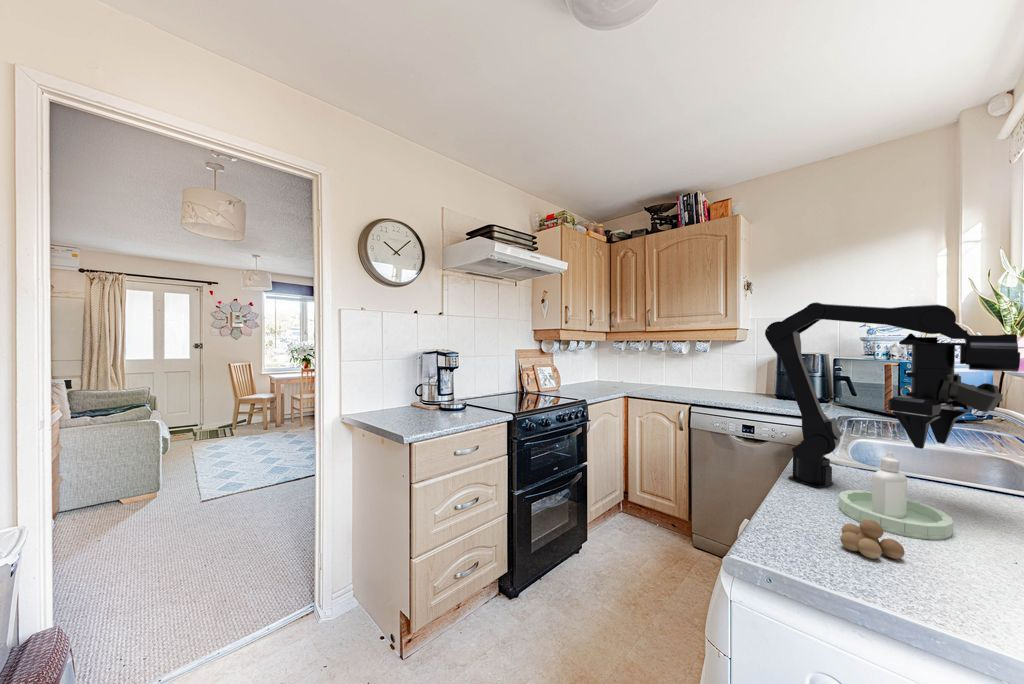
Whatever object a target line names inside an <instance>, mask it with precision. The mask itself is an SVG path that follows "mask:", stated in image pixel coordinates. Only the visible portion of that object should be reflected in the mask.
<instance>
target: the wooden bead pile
mask: <svg viewBox="0 0 1024 684" xmlns="http://www.w3.org/2000/svg"><path fill="white" fill-rule="evenodd" d="M841 533H842V534H841V535H840V538H839V539H840V542H841V544H842V546H843V547H844V548H846V549H847V550H849V551H853V552H860V554H861V555H863V556H864V557H866V558H868V559H872V560H873V559H875V560H876V559H878V558H880V557H881V556H882V554H883V555H884V556H886V557H888V558H890V559H893V560H899V559H902V558H903V557H904V556H905V548H904V546H903V545H902V544H901V543H900V542H898V541H897V540H895V539H892V538H884V539H883V538H882V537H884V531H883V529H882V527H881V526H880V525H879V524H878V523H877V522H875V521H873V520H864V521H862V522H859V526H858V525H857V524H854V523H846V524H845V523H844V525H843V526H842V527H841ZM880 538H882V539H881V540H879V539H880Z"/></svg>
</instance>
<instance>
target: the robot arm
mask: <svg viewBox="0 0 1024 684" xmlns="http://www.w3.org/2000/svg"><path fill="white" fill-rule="evenodd" d="M823 320H826V321H835V322H836V321H837V322H848V323H849V322H850V323H863V324H874V325H885V326H891V327H896V328H901V329H904V330H905V329H906V330H908V331H909V330H910V331H915V332H918V333H923V334H928V335H938V334H940V335H943V336H945V337H947V338H949V339H951V340H964V342H938V336H916V335H915V334H913V333H909V334H907V336H906V337H905V338H904V339H901V340H900V341H899V342H898V344H899V345H902V346H911V371H907V372H906V378H911V379H910V382H911V383H910V391H906V394H905V395H897V396H893V397H891V398H890V399H888V404H887V408H888V411H891V413H892V415H894V417H896V419H897V420H898V422H899V423H900V425H901V426H902V428H903V430H904V431H905V433H906V435H907V436H908V438H909V439H910V441H911V443H912V444H913V447H914V448H917V449H921V450H922V449H924V448H925V445H926V442H927V436H928V433H929V432H928V431H929V427H930V428H931V431H932V434H933V436H934V439H935V441H936V443H938V444H943V445H944V444H946V443H947V441H948V439H949V437H950V434H951V432H952V430H953V428H954V425H955V423H956V421H957V419H958V418H961V417H962V416H965V415H966V414H970V412H971V410H976V411H978V412H979V411H980V412H984V413H987V412H989V411H990V412H994V411H995V409H996V408H997V406H998V404H999V403H1001V402H1003V400H1004V399H1003V397H1004V396H1003V395H1004V394H1002V393H1000V390H999V386H997V385H995V384H992V383H988V382H987V383H986V382H985V383H981V384H979V385H978V386H976V385H974V384H968V383H965V382H962V376H961V375H960V374H959V373H955V363H956V361H955V360H956V358H955V357H956V347H957V346H960V348H959V349H960V350H959V365H966V366H968V370H969V371H970V370H971V371H972V370H973V371H991V372H993V371H994V372H995V371H996V372H1016V373H1018V372H1019V370H1020V365H1021V363H1020V362H1021V352H1020V351H1019V344H1018V334H1016V333H1015V334H1014V333H1013V334H1012V333H1010V334H1009V333H1005V334H1004V333H1003V334H992V335H991V334H987V335H985V334H970V333H968V330H967V329H966V330H965V329H963V328H962V327H961V326H960V325H959V324H958V323H957V316H956V313H955V312H954V311H953V310H952V309H951V308H949V307H948V306H945V305H941V304H927V305H926V304H924V305H923V304H921V305H908V306H898V307H882V306H881V307H880V306H865V305H863V306H862V305H846V304H834V303H833V304H831V303H830V304H829V303H821V302H818V301H815V302H811V303H809V304H808V305H807V306H806V307H804V308H803V309H800V310H799V311H797V312H795V313H793V314H792V315H790V316H788V317H786V318H785V319H783V320H782V321H779V320H778V321H774V322H771V323H770V324H769V325H768V326H767V327H766V329H765V330H764V331H765V332H764V336H765V338H766V340H767V342H768V344H769V346H771V348H772V350H773V351H774V352H775V354H776V355H777V356H778V357H779V359H780V361H781V362H782V365H783V368H784V371H785V374H786V377H787V380H788V382H789V384H790V388H791V391H792V393H793V395H794V399H795V401H796V404H797V407H798V409H799V411H800V416H801V432H802V438H803V439H802V440H801V441H800V442H798V443H797V444H796V445H794V446H793V447H792V449H791V450H792V475H788V479H789V480H792V481H795V482H797V483H799V484H804V485H806V486H810V487H813V488H815V489H820V488H824V487H828V486H829V487H830V486H832V485H834V481H833V467H832V465H831V458H827V457H825V456H827V455H829V454H831V453H832V452H834V450H836V448H837V447H839V444H840V443H841V437H842V436H843V433H842V431H841V430H840V429H839V426H838V421H837V418H836V417H833V418H828V416H827V415H826V413H825V412H824V411H823V409H822V405H821V404H820V401H819V399H818V395H817V393H816V391H815V387H814V385H813V382H812V380H811V378H810V375H809V372H808V369H807V366H806V364H805V361H804V358H803V355H802V341H801V334H802V333H803V332H806V330H808V329H809V328H811V327H812V326H814V325H815V324H816V323H818V322H820V321H823ZM961 408H963V409H961Z"/></svg>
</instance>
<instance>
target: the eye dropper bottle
mask: <svg viewBox="0 0 1024 684" xmlns="http://www.w3.org/2000/svg"><path fill="white" fill-rule="evenodd" d="M871 479H872V481H871V486H872V487H871V491H872V512H875V513H878V514H881V515H884V516H888V517H892V518H896V519H898V518H903V517H905V516H906V514H907V499H908V478H907V476H906V475H905V474H904V473H902V472H900V460H898V459H896V458H895V456H894V453H893V451H887V453H886V456H884V457H881V458H880V469H879V470H876V471H875V472H874V473H873V474H872V478H871Z"/></svg>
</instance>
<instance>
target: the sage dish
mask: <svg viewBox="0 0 1024 684" xmlns="http://www.w3.org/2000/svg"><path fill="white" fill-rule="evenodd" d="M838 505H839V510H840V511H841V512H842V513H843V514H844V515H846V516H847V517H849V518H851V519H852V520H855V521H856V522H859V523H861V522H862V521H864V520H873V521H875V522H877V523H878V524H879V525H880V526H881V527H882V529H883V532H886V533H889V532H890V533H889V534H893V535H897V536H902V537H906V538H912V539H917V538H918V539H919V540H925V539H929V541H944V540H943V539H945V540H948V539H950V538H951V537H952V536H953V533H954V521H953V519H952V517H951V516H950V515H949V514H947V513H945V512H943V511H942V510H940V509H938V508H935V507H933V506H930V505H928V504H926V503H924V502H921V501H917V500H913V499H910V498H907V514H906V516H905V517H903V518H898V519H896V518H892V517H888V516H884V515H881V514H878V513H875V512H872V490H863V489H849V490H848V489H846V490H844V491H841V492H839V496H838Z"/></svg>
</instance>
